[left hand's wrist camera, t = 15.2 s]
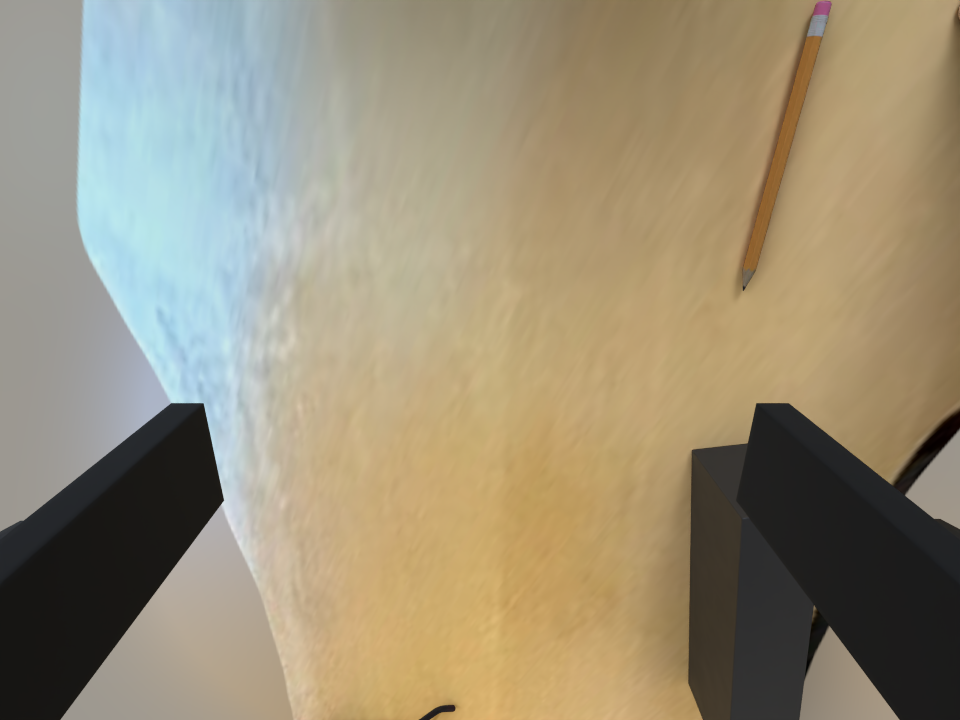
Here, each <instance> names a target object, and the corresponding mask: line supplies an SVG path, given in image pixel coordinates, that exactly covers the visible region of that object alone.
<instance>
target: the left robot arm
mask: <svg viewBox="0 0 960 720" xmlns="http://www.w3.org/2000/svg"><path fill="white" fill-rule="evenodd" d="M223 501H224V498H223V494H222V489H221V484H220V479H219V475H218V470H217V465H216V460H215V456H214V451H213V446H212V441H211V436H210V432H209V427H208V422H207V417H206V413H205V408H204V403H171V404H170V405H169V406H167V407H166V408H165V409H164V410H162V411H161V412H160V413H159V414H157V415H156V416H155V417H154V418H152V419H151V420H150V421H148V422H147V423H146V424H145V425H143V426H142V427H141V428H140V429H139V430H137V431H136V432H135V433H133V434H132V435H131V436H130V437H128V438H127V439H126V440H125V441H123V442H122V443H121V444H120V445H118V446H117V447H116V448H115V449H113V450H112V451H111V452H110V453H108V454H107V455H106V456H105V457H103V458H102V459H101V460H100V461H98V462H97V463H96V464H94V465H93V466H92V467H91V468H89V469H88V470H87V471H86V472H84V473H83V474H82V475H81V476H79V477H78V478H77V479H76V480H74V481H73V482H72V483H71V484H69V485H68V486H67V487H66V488H64V489H63V490H62V491H61V492H59V493H58V494H57V495H56V496H54V497H53V498H52V499H50V500H49V501H48V502H47V503H46V504H44V505H43V506H42V507H40V508H39V509H38V510H37V511H35V512H34V513H33V514H32V515H30V516H29V517H28V518H27V519H25V520H24V521H19V522H17V523H16V524H14V525H12V526H10V527H8V528H6V529H4V530H2V531H1V532H0V720H60V719H61V718H62V717H63V715H64V714H65V713H66V711H67V710H68V709H69V707H70V706H71V705H72V703H73V702H74V701H75V699H76V698H77V697H78V695H79V694H80V693H81V691H82V690H83V689H84V687H85V686H86V685H87V683H88V682H89V681H90V679H91V678H92V677H93V675H94V674H95V673H96V671H97V670H98V669H99V667H100V666H101V665H102V663H103V662H104V660H105V659H106V658H107V656H108V655H109V654H110V652H111V651H112V650H113V648H114V647H115V646H116V644H117V643H118V642H119V640H120V639H121V638H122V636H123V635H124V634H125V632H126V631H127V630H128V628H129V627H130V626H131V624H132V623H133V622H134V620H135V619H136V618H137V616H138V615H139V614H140V612H141V611H142V610H143V608H144V607H145V606H146V604H147V603H148V602H149V600H150V599H151V597H152V596H153V595H154V593H155V592H156V591H157V589H158V588H159V587H160V585H161V584H162V583H163V581H164V580H165V579H166V577H167V576H168V575H169V573H170V572H171V571H172V569H173V568H174V567H175V565H176V564H177V563H178V561H179V560H180V559H181V557H182V556H183V555H184V553H185V552H186V551H187V549H188V548H189V547H190V545H191V544H192V543H193V541H194V540H195V539H196V537H197V536H198V535H199V533H200V532H201V530H202V529H203V528H204V527H205V525H206V524H207V523H208V521H209V520H210V518H211V517H212V516H213V514H214V513H215V512H216V510H217V509H218V508H219V506H220V505H221V504H222V502H223ZM736 501H737V502H738V504H739V505H740V506H741V508H742V509H743V510H744V512H745V513H746V515H747V516H748V517H749V519H750V520H751V521H752V523H753V524H754V525H755V527H756V528H757V529H758V531H759V532H760V533H761V535H762V536H763V537H764V539H765V540H766V541H767V543H768V544H769V545H770V547H771V548H772V549H773V551H774V552H775V553H776V555H777V556H778V557H779V559H780V560H781V561H782V563H783V564H784V565H785V567H786V568H787V569H788V571H789V572H790V573H791V575H792V576H793V577H794V579H795V580H796V581H797V583H798V584H799V585H800V587H801V588H802V590H803V591H804V592H805V594H806V595H807V596H808V598H809V599H810V600H811V602H812V603H813V604H814V606H815V607H816V608H817V610H818V611H819V612H820V614H821V615H822V616H823V618H824V619H825V620H826V622H827V623H828V624H829V626H830V627H831V628H832V630H833V631H834V632H835V634H836V635H837V636H838V638H839V639H840V640H841V642H842V643H843V644H844V646H845V647H846V648H847V650H848V651H849V652H850V654H851V655H852V656H853V658H854V659H855V660H856V662H857V663H858V665H859V666H860V667H861V669H862V670H863V671H864V673H865V674H866V675H867V677H868V678H869V679H870V681H871V682H872V683H873V685H874V686H875V687H876V689H877V690H878V691H879V693H880V694H881V695H882V697H883V698H884V699H885V701H886V702H887V703H888V705H889V706H890V707H891V709H892V710H893V711H894V713H895V714H896V715H897V717H898V718H899V719H900V720H960V529H958V528H956V527H954V526H952V525H950V524H949V523H947V522H945V521H943V520H941V519H933V518H932V517H931V516H930V515H928V514H927V513H926V512H925V511H923V510H922V509H921V508H920V507H918V506H917V505H916V504H915V503H913V502H912V501H911V500H909V499H908V498H907V497H906V496H904V495H903V494H902V493H901V492H899V491H898V490H897V489H896V488H894V487H893V486H892V485H891V484H889V483H888V482H887V481H886V480H884V479H883V478H882V477H881V476H879V475H878V474H877V473H876V472H874V471H873V470H872V469H871V468H869V467H868V466H867V465H866V464H864V463H863V462H862V461H861V460H859V459H858V458H857V457H855V456H854V455H853V454H852V453H850V452H849V451H848V450H847V449H845V448H844V447H843V446H842V445H840V444H839V443H838V442H837V441H835V440H834V439H833V438H832V437H830V436H829V435H828V434H827V433H825V432H824V431H823V430H822V429H820V428H819V427H818V426H817V425H815V424H814V423H813V422H812V421H810V420H809V419H808V418H807V417H805V416H804V415H803V414H801V413H800V412H799V411H798V410H796V409H795V408H794V407H793V406H791V405H790V404H789V403H756V408H755V413H754V417H753V422H752V427H751V432H750V436H749V441H748V446H747V451H746V456H745V460H744V465H743V470H742V475H741V479H740V484H739V489H738V494H737V498H736Z"/></svg>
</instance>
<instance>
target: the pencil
mask: <svg viewBox="0 0 960 720" xmlns="http://www.w3.org/2000/svg"><path fill="white" fill-rule="evenodd" d="M830 8H831V2H830V1H820V2H818V3H817V4H816V5H815V9H814V13H813V16H812V19H811V22H810V27H809V30H808V34H807V38H806V42H805V45H804V49H803V53H802V56H801V60H800V64H799V67H798V71H797V74H796V78H795V82H794V85H793V89H792V93H791V96H790V100H789V103H788V107H787V111H786V114H785V118H784V121H783V125H782V129H781V132H780V136H779V140H778V143H777V147H776V150H775V154H774V158H773V161H772V165H771V169H770V172H769V176H768V179H767V183H766V187H765V190H764V194H763V197H762V201H761V205H760V208H759V212H758V216H757V219H756V223H755V226H754V230H753V234H752V237H751V241H750V244H749V248H748V252H747V255H746V259H745V263H744V266H743V291H744V289H745V288H746V286H747V284H748V283H749V281H750V279H751V278H752V276H753V274H754V272H755V270H756V267H757V263H758V260H759V256H760V253H761V249H762V246H763V242H764V239H765V235H766V232H767V228H768V225H769V221H770V218H771V214H772V211H773V207H774V204H775V200H776V197H777V193H778V190H779V186H780V183H781V179H782V176H783V172H784V169H785V165H786V162H787V158H788V155H789V151H790V148H791V144H792V141H793V137H794V134H795V130H796V127H797V123H798V120H799V116H800V113H801V109H802V106H803V102H804V99H805V95H806V92H807V88H808V85H809V81H810V78H811V74H812V71H813V67H814V64H815V60H816V57H817V53H818V50H819V46H820V43H821V39H822V37H823V34H824V29H825V26H826V24H827V20H828V15H829V12H830Z"/></svg>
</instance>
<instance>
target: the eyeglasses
mask: <svg viewBox="0 0 960 720" xmlns="http://www.w3.org/2000/svg"><path fill="white" fill-rule="evenodd" d="M453 711H455V706H454V705H444V706H439V707H437V708H435V709H434V710H432V711H431V712H429V713H428V714H426V715H425V716H424V717H422V718H421V719H419V720H430V719H431V718H433V717H434V716H436V715H437V714H439V713H441V712H453Z"/></svg>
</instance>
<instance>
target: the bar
mask: <svg viewBox="0 0 960 720" xmlns="http://www.w3.org/2000/svg"><path fill="white" fill-rule="evenodd" d="M747 446H748V444H740V445H731V446H722V447H713V448H704V449H696V450H692V483H691V550H690V616H689V682H688V683H689V686H690V688H691V691H692V693H693V696H694V698H695V701H696V703H697V706H698V708H699V711H700V713H701V716H702V718H703V720H799V717H800V709H801V701H802V694H803V686H804V678H805V670H806V662H807V654H808V646H809V638H810V631H811V623H812V615H813V607H814V604H813V603H812V602H811V600H810V599H809V598H808V596H807V595H806V594H805V592H804V591H803V590H802V588H801V587H800V585H799V584H798V583H797V581H796V580H795V579H794V577H793V576H792V575H791V573H790V572H789V571H788V569H787V568H786V567H785V565H784V564H783V563H782V561H781V560H780V559H779V557H778V556H777V555H776V553H775V552H774V551H773V549H772V548H771V547H770V545H769V544H768V543H767V541H766V540H765V539H764V537H763V536H762V535H761V533H760V532H759V531H758V529H757V528H756V527H755V525H754V524H753V523H752V521H751V520H750V519H749V517H748V516H747V515H746V513H745V512H744V510H743V509H742V508H741V506H740V505H739V504H738V502H737V501H736V498H737V494H738V489H739V484H740V479H741V475H742V470H743V465H744V460H745V456H746V451H747Z"/></svg>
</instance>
